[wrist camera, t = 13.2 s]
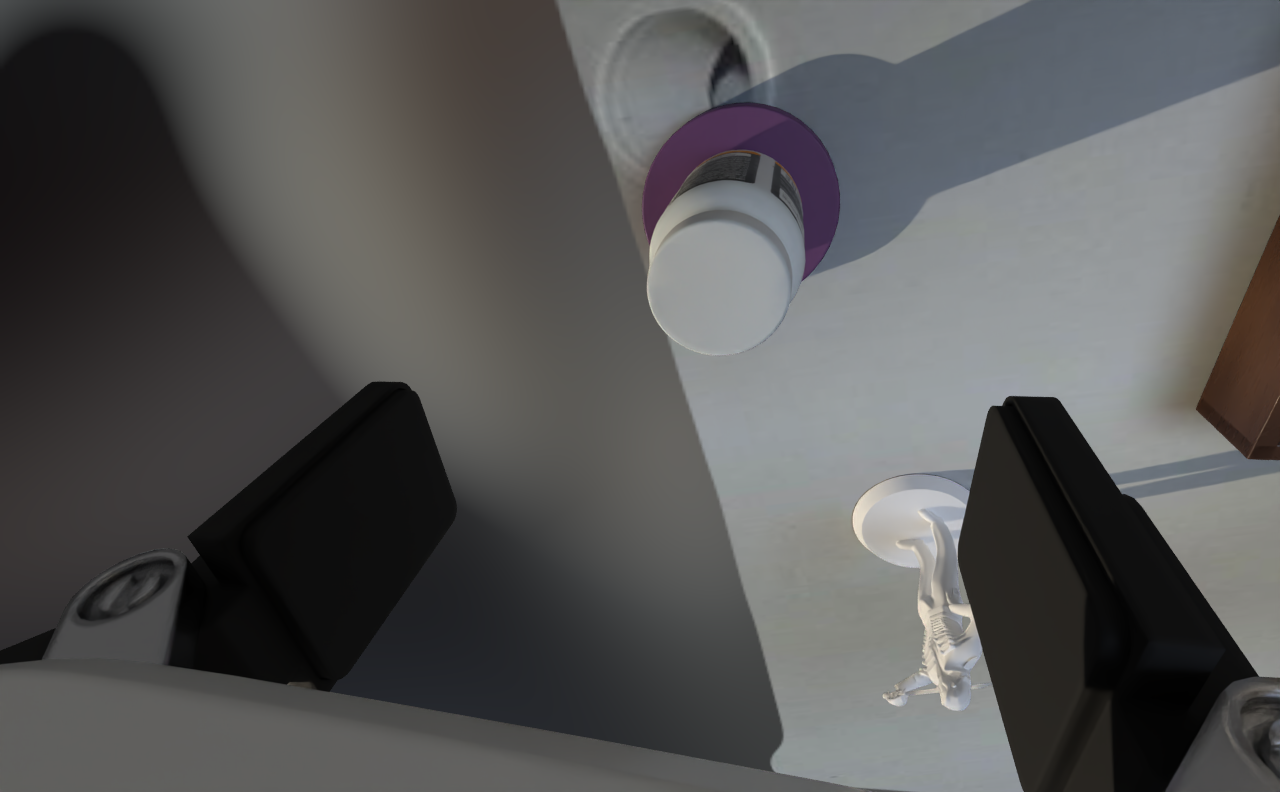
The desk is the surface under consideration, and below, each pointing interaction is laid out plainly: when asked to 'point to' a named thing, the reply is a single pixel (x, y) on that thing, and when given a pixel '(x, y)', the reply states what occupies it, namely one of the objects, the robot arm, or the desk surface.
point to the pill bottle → (727, 254)
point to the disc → (761, 134)
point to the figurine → (926, 576)
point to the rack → (1251, 366)
